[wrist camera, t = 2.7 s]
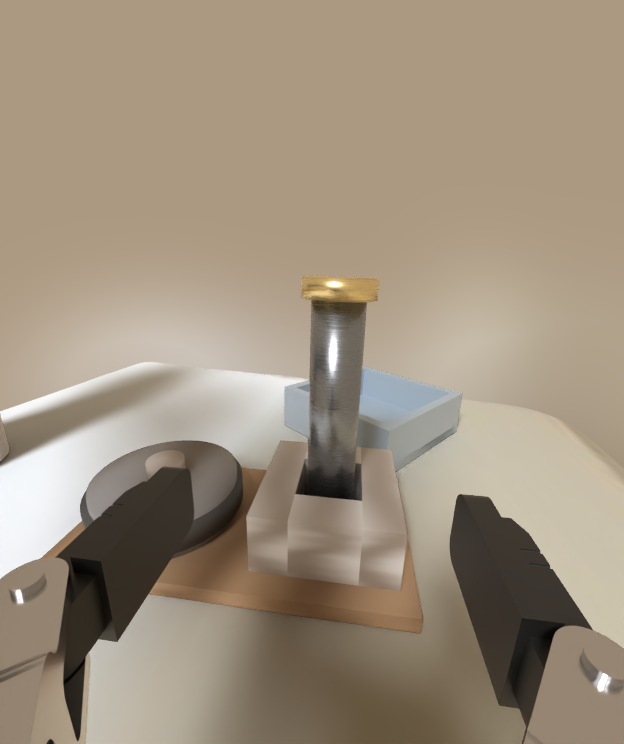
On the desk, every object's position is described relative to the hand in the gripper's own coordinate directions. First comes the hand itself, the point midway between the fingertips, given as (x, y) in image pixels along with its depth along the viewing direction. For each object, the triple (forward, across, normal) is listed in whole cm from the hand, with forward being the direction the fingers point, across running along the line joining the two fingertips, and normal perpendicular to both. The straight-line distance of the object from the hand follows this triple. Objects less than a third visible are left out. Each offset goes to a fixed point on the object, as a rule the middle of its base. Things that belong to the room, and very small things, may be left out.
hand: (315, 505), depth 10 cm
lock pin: (+12, 0, +11) cm, 16 cm away
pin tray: (+30, -4, +12) cm, 32 cm away
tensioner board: (+11, +6, +12) cm, 18 cm away
